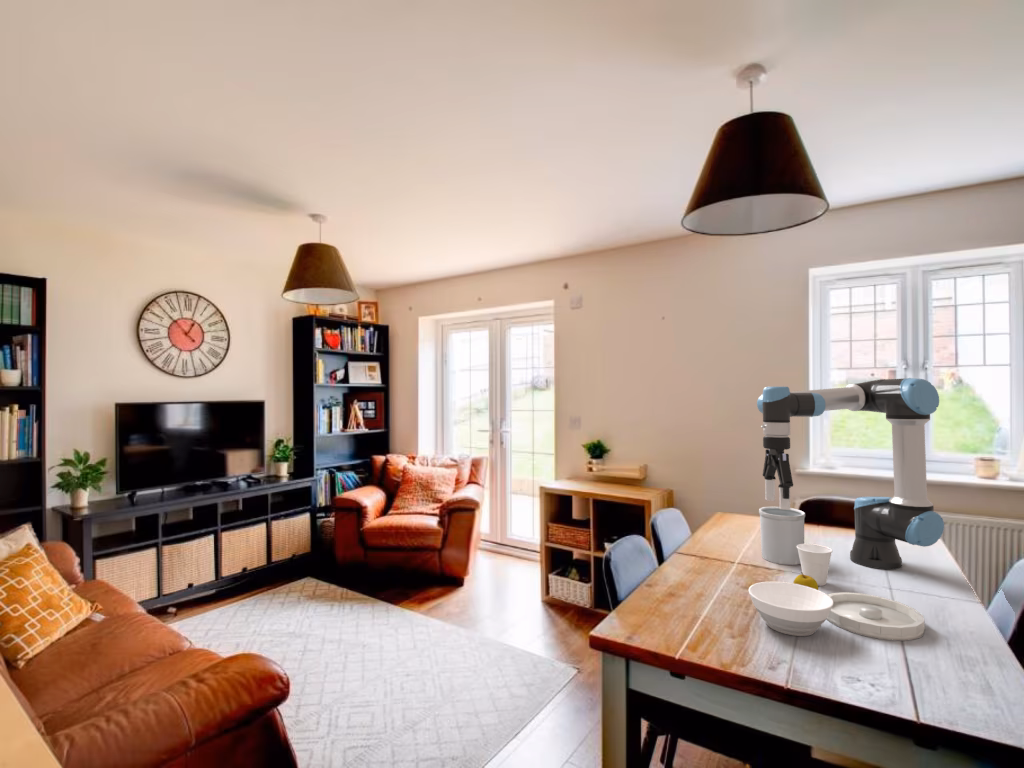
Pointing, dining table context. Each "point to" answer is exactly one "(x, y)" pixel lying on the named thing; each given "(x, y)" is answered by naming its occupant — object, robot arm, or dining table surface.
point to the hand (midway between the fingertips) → (777, 504)
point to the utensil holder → (781, 534)
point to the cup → (815, 561)
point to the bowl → (791, 607)
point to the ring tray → (880, 629)
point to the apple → (806, 581)
